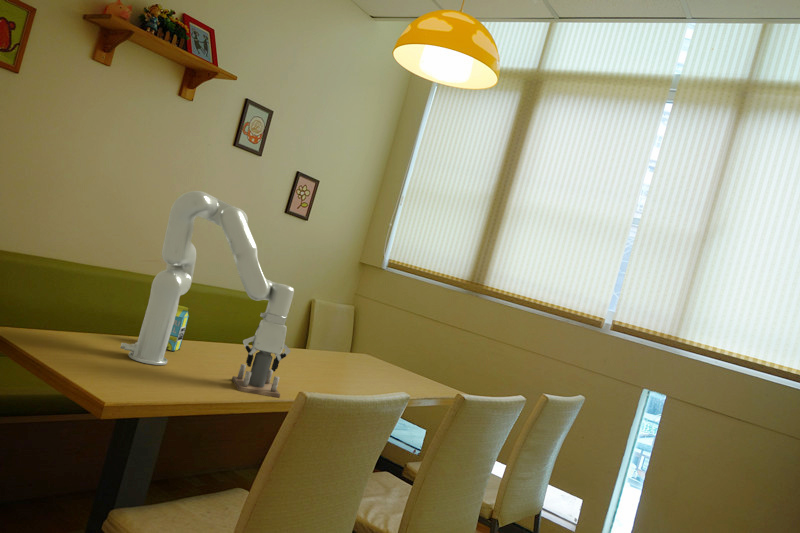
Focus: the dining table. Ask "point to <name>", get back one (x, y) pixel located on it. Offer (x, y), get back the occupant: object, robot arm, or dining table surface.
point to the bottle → (260, 369)
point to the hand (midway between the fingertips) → (261, 368)
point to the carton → (178, 329)
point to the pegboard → (244, 385)
